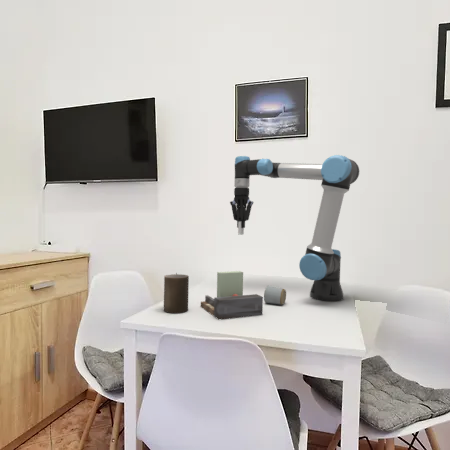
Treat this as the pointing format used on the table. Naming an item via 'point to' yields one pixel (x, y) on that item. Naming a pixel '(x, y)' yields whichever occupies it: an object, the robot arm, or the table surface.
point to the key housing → (234, 306)
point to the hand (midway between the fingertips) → (240, 234)
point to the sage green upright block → (229, 283)
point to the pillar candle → (176, 293)
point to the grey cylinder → (274, 295)
